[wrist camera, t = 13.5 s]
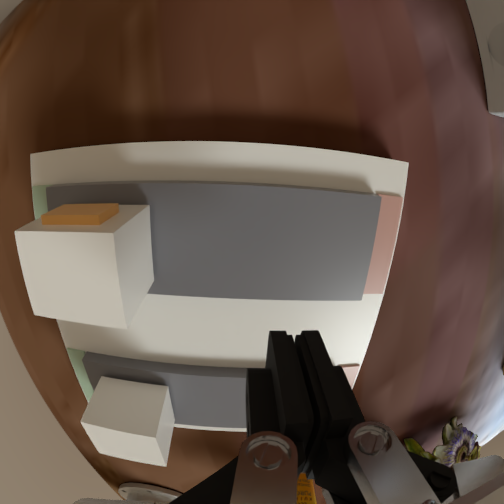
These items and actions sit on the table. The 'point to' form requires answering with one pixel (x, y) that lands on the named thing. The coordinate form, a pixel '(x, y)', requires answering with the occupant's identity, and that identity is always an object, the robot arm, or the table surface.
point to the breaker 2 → (130, 420)
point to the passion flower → (450, 445)
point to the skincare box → (490, 48)
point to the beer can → (305, 490)
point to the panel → (232, 260)
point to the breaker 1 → (88, 262)
